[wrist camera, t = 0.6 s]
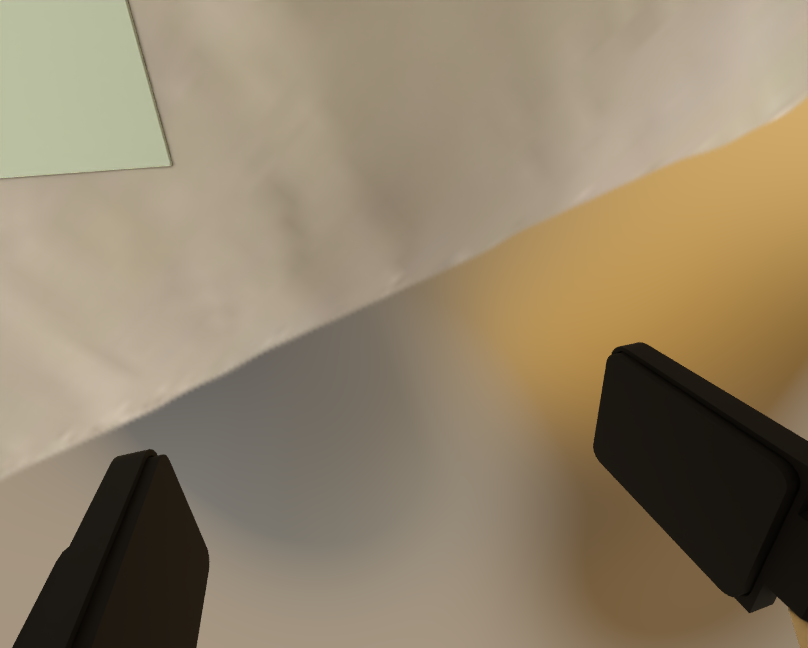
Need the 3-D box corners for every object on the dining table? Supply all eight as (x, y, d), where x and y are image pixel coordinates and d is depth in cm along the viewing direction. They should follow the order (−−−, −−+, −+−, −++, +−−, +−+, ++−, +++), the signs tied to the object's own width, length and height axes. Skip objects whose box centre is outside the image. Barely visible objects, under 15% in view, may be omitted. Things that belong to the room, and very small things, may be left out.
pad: (-129, -51, 23) (-138, -55, 23) (115, -46, 26) (111, -49, 25) (-21, 179, 28) (-27, 180, 28) (172, 165, 31) (170, 165, 30)
